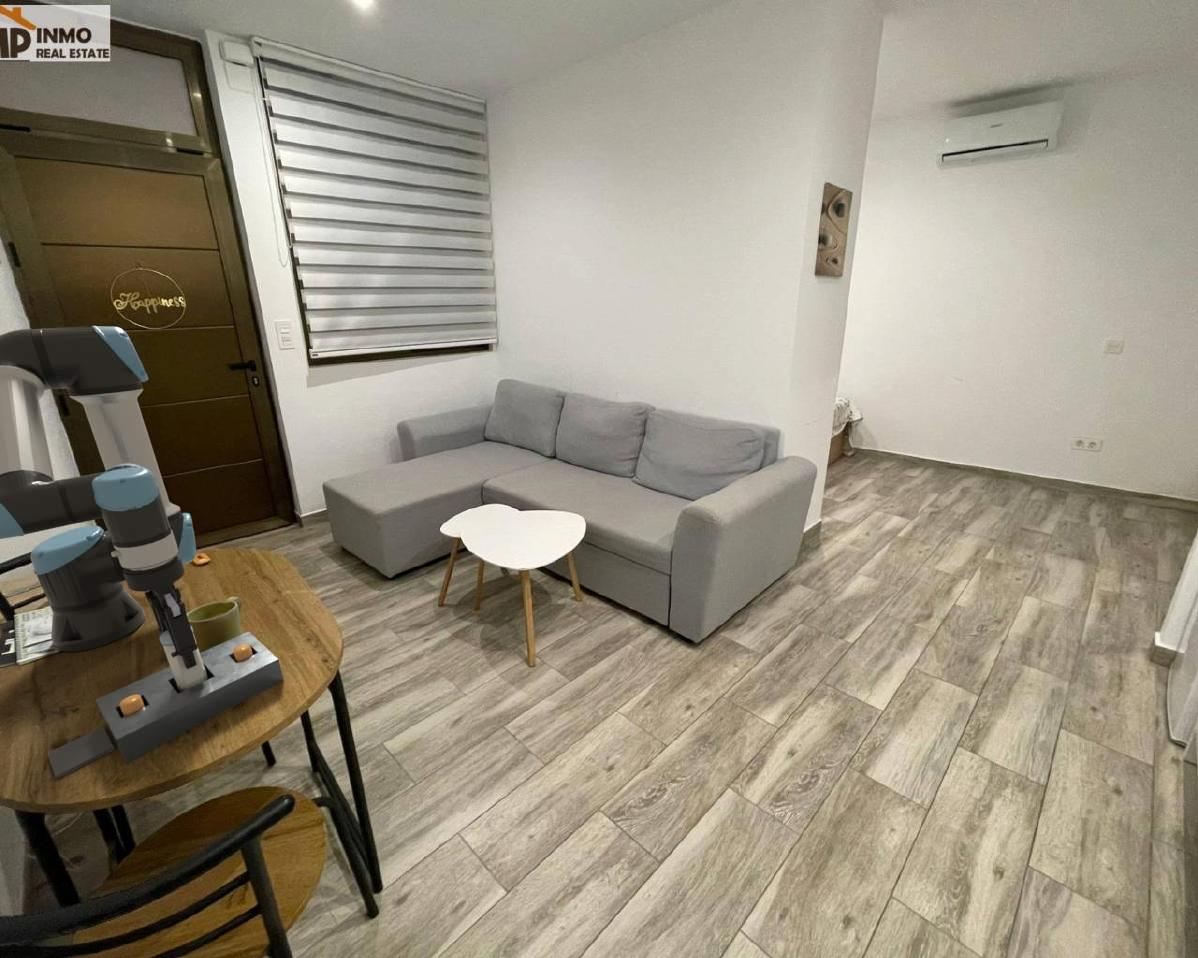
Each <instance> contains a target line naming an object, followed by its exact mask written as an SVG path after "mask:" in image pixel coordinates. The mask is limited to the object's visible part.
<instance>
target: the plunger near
mask: <svg viewBox="0 0 1198 958" xmlns="http://www.w3.org/2000/svg"><path fill="white" fill-rule="evenodd" d="M119 705H120V708H121V710H122V713H123V715H124V717H125V716H127V715H129V714H131V713H133V712H135V711H137V710H140V709H142V708H144V707H145V706H144V703H143V701H142V698H141V696H140V695H132V696H129V697H127V698H125V699H123V700H122V701H121V702H120V704H119Z"/></svg>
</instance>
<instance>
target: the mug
mask: <svg viewBox="0 0 1198 958" xmlns="http://www.w3.org/2000/svg"><path fill="white" fill-rule="evenodd" d="M242 608H243V601H242V600H241V599H240V598H239V597H238V596H231V597H228V598H226V600H225V601H216V602H211V603H206V604H203V605H200V606H198V607H196V608H194V609H192V610H190V611H188V612H186V614H187V617H188V620H189V623H190V626H191V627H192V629H193V632H194V637H195V640H196V643H197V646H198V649H199V652H200V653H201V652H204V651H206V650H208V649H210V648H213V647H215V646H217V645H219V644H222V643H224V642H226V641H228V640H231V639H233V638H235V637H237V636H240V635H242V634H243V630H242V627H241V617H240V616H241V613H242Z"/></svg>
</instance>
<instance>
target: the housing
mask: <svg viewBox="0 0 1198 958" xmlns="http://www.w3.org/2000/svg"><path fill="white" fill-rule="evenodd" d="M243 644H249V645H250V646H251V650H252V653H253V655H252V656H250V657H248V658H246V659H244V660H242V661H240V662H238V663H237V662H236V659H235V656H234V652H233V651H234V649H235V648H236V647H238V646H240V645H243ZM200 655H201V658H202V661H203V664H204V668H205V671H206V674H207V677H208V680H206V681H204V682H202V683H200V684H198V685H196V686H194V687H192V688H190V689H188V690H186V691H184V692H181V693H180V692H179V689H178V687H177V684H176V681H175V678H174V675H173V673H172V670H171V667H170V666H168V667H165V668H164V669H162V670H159V671H156V672H155V673H152V674H150V675H148V676H145V677H143V678H140V679H138V680H136V681H135V682H132V683H130V684H128V685H126V686H124V687H120V688H118V689H116V690H114V691H112V692H110V693H107V694H104V695H103V696H100V697H99V698H96V699H95V701H96V703H97V706H98V708H99V710H100V713H101V715H102V717H103V720H104V722H105V724H106V726H107V728H108V729H109V732H110V734H111V735H112V738H113V740H114V742H115V743H116V746H117V747H118V750H119V752H120V754H121V755H122V757H123V759H124V761H125V763H126V764H128V763H130V762H132V761H134V760H136V759H138V758H139V757H142V756H143V755H146V754H147V753H149V752H151V751H153V750H155V749H157V748H158V747H160V746H163V745H164V744H166V743H168V742H169V741H171V740H173V739H176V738H177V737H179V736H181V735H182V734H185V733H186V732H189V731H190V730H192V729H194V728H196V727H198V726H200V725H202V724H203V723H205V722H207V721H209V720H211V719H213V718H215V717H216V716H218V715H220V714H223V713H225V712H226V711H228V710H230V709H232V708H234V707H236V706H237V705H239V704H241V703H243V702H245V701H247V700H249V699H251V698H252V697H254V696H256V695H258V694H260V693H262V692H264V691H266V690H267V689H269V688H272V687H273V686H275V685H277V684H279V683H280V682H283V681H284V676H283V672H282V668H281V664H280V660H279V658H278V657H277V656H275V654H274V653H272V652H271V651H270V650H269V649H268V648H267V646H265V645H264V644H263V643H262V642H261V641H260V640H258V638H257V637H255V635H253V634H252V632H250V631H246V632H244V633H242V635H240V636H237V637H235V638H233V639H231V640H228V641H226V642H224V643H222V644H219V645H217V646H215V647H213V648H210V649H208V650H206V651H204V652H201V653H200ZM132 695H140V696H141V698H142V701H143V703H144V706H145V707H144V708H142V709H140V710H137V711H135V712H133V713H131V714H129V715H127V716H125V717H124V715H123V713H122V710H121V708H120V705H119V704H120V702H121V701H122V700H123V699H125V698H127V697H129V696H132Z"/></svg>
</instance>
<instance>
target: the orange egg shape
mask: <svg viewBox="0 0 1198 958" xmlns="http://www.w3.org/2000/svg"><path fill="white" fill-rule="evenodd" d="M233 652H234V656H235V659H236V662H237V663H238V662H240V661H242V660H244V659H246V658H248V657H250V656H252V655H253V653H252V650H251V646H250V645H249V644H243V645H240V646H238V647H236V648H235V649H234V651H233Z"/></svg>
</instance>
